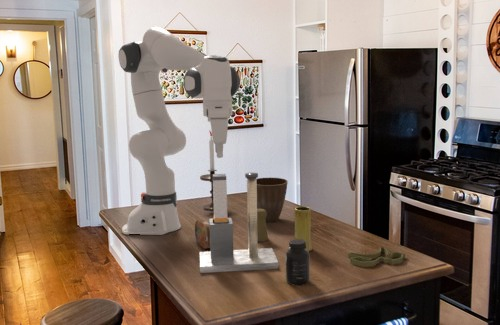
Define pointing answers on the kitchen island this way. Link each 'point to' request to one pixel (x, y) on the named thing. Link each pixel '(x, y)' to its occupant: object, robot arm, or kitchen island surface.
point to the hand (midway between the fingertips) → (219, 154)
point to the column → (220, 198)
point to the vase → (303, 225)
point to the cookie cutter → (365, 259)
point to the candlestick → (210, 176)
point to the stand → (222, 242)
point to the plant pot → (271, 196)
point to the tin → (202, 233)
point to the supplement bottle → (297, 263)
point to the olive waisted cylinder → (261, 225)
